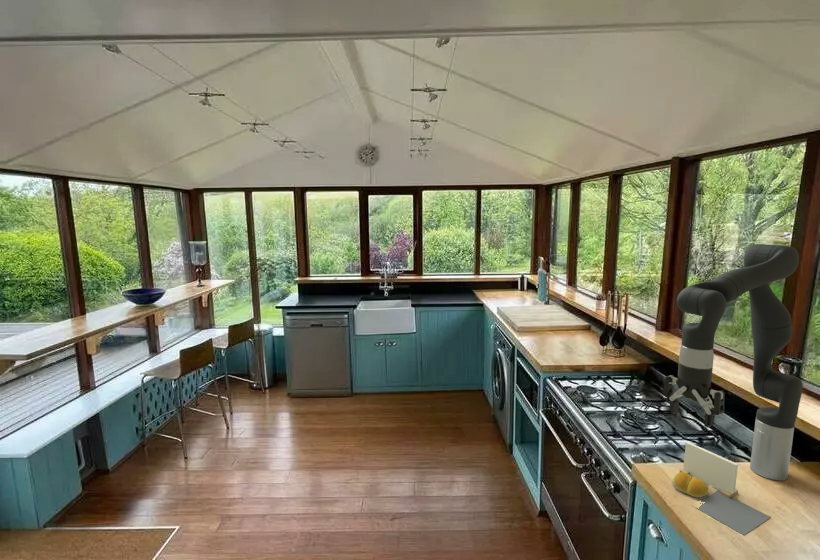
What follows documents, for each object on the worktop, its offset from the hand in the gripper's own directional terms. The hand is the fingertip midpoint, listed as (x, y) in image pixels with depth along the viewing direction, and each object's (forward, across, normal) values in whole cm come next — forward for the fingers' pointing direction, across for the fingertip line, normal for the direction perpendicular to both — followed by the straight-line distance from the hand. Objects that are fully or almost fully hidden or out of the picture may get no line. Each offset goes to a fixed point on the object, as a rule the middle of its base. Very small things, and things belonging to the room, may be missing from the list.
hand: (690, 419), depth 114 cm
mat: (+27, -7, -10) cm, 30 cm away
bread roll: (+27, +4, -11) cm, 30 cm away
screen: (+27, +3, -19) cm, 33 cm away
